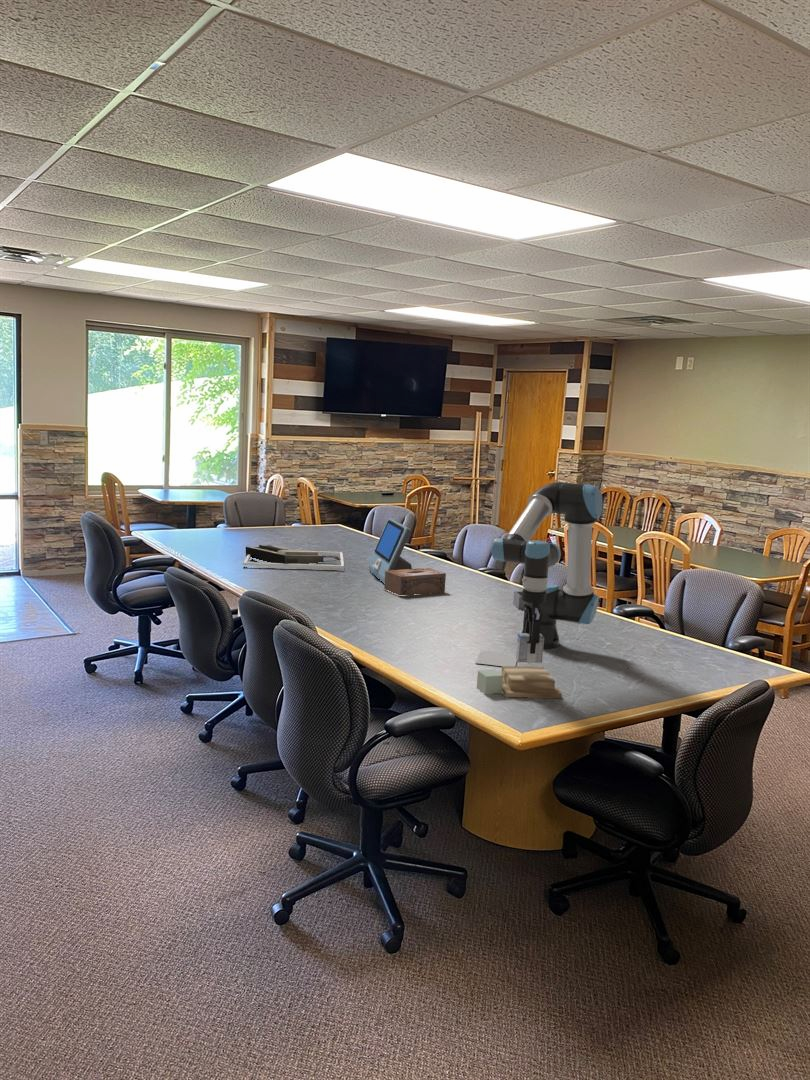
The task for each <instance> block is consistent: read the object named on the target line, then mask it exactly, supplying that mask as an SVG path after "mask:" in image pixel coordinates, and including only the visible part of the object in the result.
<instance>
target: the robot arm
mask: <svg viewBox="0 0 810 1080" xmlns="http://www.w3.org/2000/svg"><path fill="white" fill-rule="evenodd" d="M603 504H604V503H603V495H602V492H601V490H600V488H599V487H598V486H597V485H594V484H593V485H592V484H588V483H577V482H576V483H574V482H573V483H572V482H563V481H562V482H561V481H556V482H555V481H553V482H550V483H547V484H545V485H543V486H542V487H540V488H538V489H537V490H535V491H534V492H533V493H532V494H531V495H530V496H529V498H528V500H526V507H525V508H524V510H523V511H522V513H521V514H520V515H519V517H518V519H517V520H516V522H515V523H514V525H513V526H512V528H511V529H510V530H509V532H508V533H507V535H506V536H504V537H505V538H503V537H497V538H495V539H494V540H493V541H492V545H491V556H492V558H493V559H494V560H496V561H501V562H506V563H515V564H523V565H524V567H523V578H521V582H522V588H523V589H522V600H523V601H524V602H527V604H524V611H523V620H522V631H521V633H529V641H527V643H528V649H527V662H526V663H527V664H536V663H535V661H536V649H537V643H539V639H540V634H541V635H542V636H543V637H544V646H543V649H554V648H557V647H559V645H560V636H559V632H558V631H559V630H558V628H557V621H562V622H569V623H574V624H579V625H580V624H582V625H590V624H592V623H593V621H594V619H595V616H596V614H597V610H598V606H599V601H600V599H599V595H598V594H595V589H594V587H593V586H592V584H591V570H592V569H591V568H592V567H591V565H592V563H591V562H592V542H593V541H592V539H593V538H592V537H593V525H595V524H596V523H597V521H598V519H599V518H600V517H601V516H602V512H603ZM551 514H558V515H564V520H563V521H564V522H565V523H566V524H567V527H568V529H567V533H568V534H567V562H566V564H567V565H566V567H567V568H566V584H564V585H563V587H562V589H561V587H560V586H559V584H555V583H548V578H549V577H548V573H549V568H551V567H553V566H555V565H556V564H557V563H558V562H559V561H560V559H561V556H562V552H561V549H560V546H558V545H557V544H556V543H554V542H548V541H544V540H536V539H535V540H531V539H532V537H533V536H534V535H535V533H536V532H537V530H538V529H539V527H540V526H541V524H542V523H543V521H544V519H545V518H548V517H549V516H550V515H551Z"/></svg>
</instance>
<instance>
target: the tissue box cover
mask: <svg viewBox="0 0 810 1080" xmlns="http://www.w3.org/2000/svg"><path fill="white" fill-rule="evenodd" d="M446 576H447V573H446V572H443V571H440V570H437V569H434V568H432V567H431V568H430V567H423V568H421V567H420V568H412V569H404V570H390V571H385V584H384V589H386V590H389V591H391V592H393V593H396V594H398V595H414V594H427V595H431V594H430V593H438V594H445V593H446V581H447V580H446ZM384 589H383V590H384ZM444 592H445V593H444Z"/></svg>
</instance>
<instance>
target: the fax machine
mask: <svg viewBox="0 0 810 1080" xmlns="http://www.w3.org/2000/svg"><path fill="white" fill-rule="evenodd" d="M313 551H314V550H298V549H293V548H289V547H283V546H279V545H274V544H259V545H258V546H245V557H246V556H247V555H248V554H249V555H250V557H252V558H256V559H259V560H263V561H267V562H271V563H283V564H309V563H318V562H323V563H324V562H331V560H324V557H323V556H321V555H318V553H317V552H318V550H317V552H313ZM321 553H322V552H321ZM328 555H329V554H328ZM331 556H332V555H331ZM332 558H334V559H335V560H333V562H336V561H340V560H341V559H340V558H339V557H338V558H337V557H335V556H333V557H332Z"/></svg>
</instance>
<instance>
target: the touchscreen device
mask: <svg viewBox="0 0 810 1080" xmlns="http://www.w3.org/2000/svg"><path fill="white" fill-rule="evenodd" d="M411 532H412V530H411V528H410V527H408V526H406V525H404V524H402V523H400V522H399V521H397V520H396V519H392V518H391V517H389V518H388V519H387V521H386V524H384V528H383V530H382V532H381V535H380V536H379V539H378V542H377V543H376V545H375V548H374V550H373V553H372V556H371V558H370V562H369V565H368V571H369V570H370V571H371V572H372V573H373V574H374V575H375V576H376V577H377V578H379V579H380V580H381V581H382V582H383V583H385V571H390V570H404V569H413V567H412V564H411V563H410V562H409V561H407V560H406V559H404V558H403V557H402V556H401V555H402V552H403V550H404V547H405V546H406V544H407V541H408V539H409V537H410V534H411ZM370 571H369V572H370ZM371 572H370V573H371ZM372 573H371V574H372ZM373 574H372V575H373ZM374 575H373V576H374ZM375 576H374V577H375ZM376 577H375V578H376ZM377 578H376V579H377ZM380 580H379V581H380ZM381 581H380V582H381ZM382 582H381V583H382ZM383 583H382V584H383Z"/></svg>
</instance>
